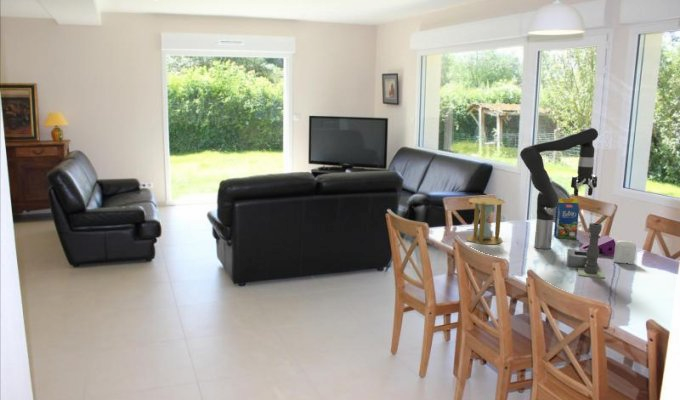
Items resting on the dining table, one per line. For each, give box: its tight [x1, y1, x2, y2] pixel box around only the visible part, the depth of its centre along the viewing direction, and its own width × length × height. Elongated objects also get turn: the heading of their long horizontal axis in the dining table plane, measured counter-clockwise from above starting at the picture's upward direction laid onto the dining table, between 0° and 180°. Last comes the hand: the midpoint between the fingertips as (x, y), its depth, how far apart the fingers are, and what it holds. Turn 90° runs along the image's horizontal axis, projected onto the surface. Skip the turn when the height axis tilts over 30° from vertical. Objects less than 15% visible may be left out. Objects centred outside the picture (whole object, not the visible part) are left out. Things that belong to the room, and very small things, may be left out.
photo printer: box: [613, 240, 637, 265], centre depth 315 cm, size 10×4×12 cm, turn 72°
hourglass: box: [466, 196, 506, 245], centre depth 358 cm, size 24×22×25 cm
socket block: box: [566, 248, 598, 269], centre depth 311 cm, size 14×14×6 cm
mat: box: [577, 268, 606, 279], centre depth 297 cm, size 12×12×1 cm
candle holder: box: [584, 222, 603, 274], centre depth 294 cm, size 6×6×25 cm
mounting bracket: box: [579, 234, 616, 256], centre depth 335 cm, size 10×8×18 cm
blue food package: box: [553, 198, 580, 240], centre depth 367 cm, size 6×12×25 cm, turn 90°
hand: (582, 195), depth 312 cm, fingers open, 8 cm apart
